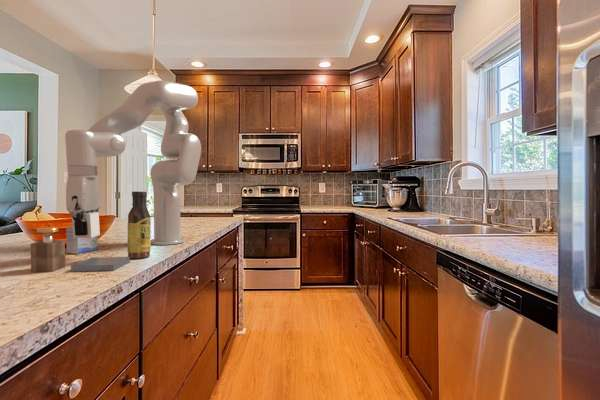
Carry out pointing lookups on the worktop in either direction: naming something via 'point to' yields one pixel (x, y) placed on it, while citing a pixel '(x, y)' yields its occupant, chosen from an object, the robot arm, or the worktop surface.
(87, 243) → the medicine box
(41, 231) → the press pin
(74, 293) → the worktop surface
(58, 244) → the brown block
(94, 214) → the block
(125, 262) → the plate
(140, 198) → the sauce bottle
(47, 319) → the worktop surface
